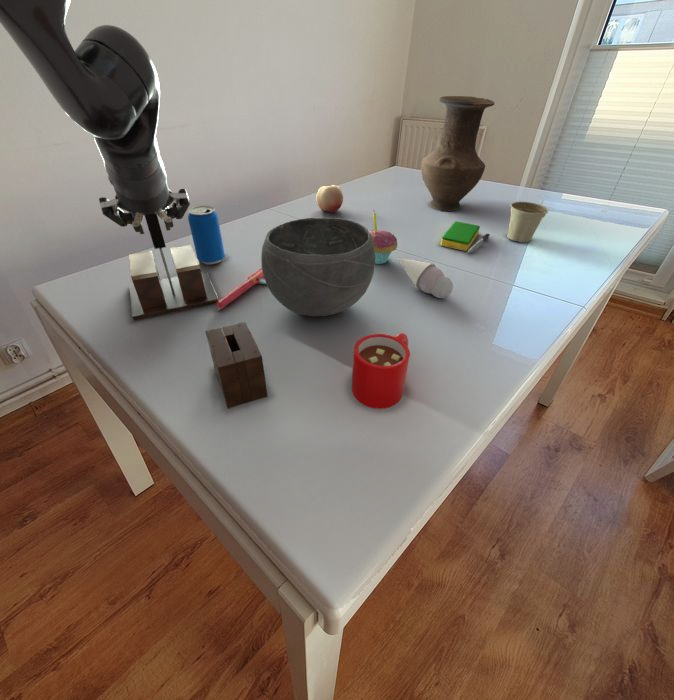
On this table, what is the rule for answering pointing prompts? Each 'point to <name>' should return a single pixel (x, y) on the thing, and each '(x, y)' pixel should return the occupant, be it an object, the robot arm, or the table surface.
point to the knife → (478, 243)
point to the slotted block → (168, 285)
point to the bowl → (318, 264)
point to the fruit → (329, 198)
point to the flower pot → (525, 220)
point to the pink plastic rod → (242, 288)
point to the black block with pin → (157, 239)
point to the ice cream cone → (427, 277)
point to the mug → (380, 369)
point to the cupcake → (382, 243)
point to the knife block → (237, 364)
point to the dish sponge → (460, 236)
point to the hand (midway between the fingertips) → (154, 227)
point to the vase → (455, 153)
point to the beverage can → (206, 234)
